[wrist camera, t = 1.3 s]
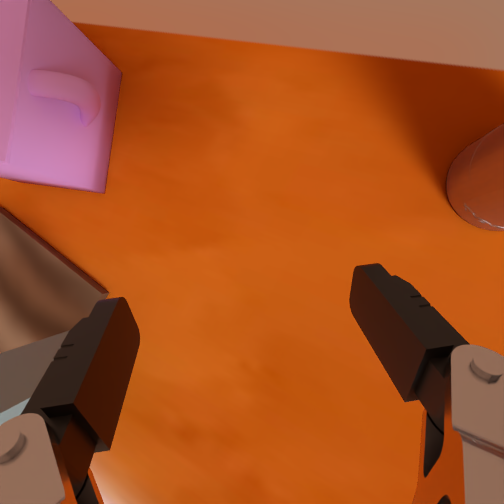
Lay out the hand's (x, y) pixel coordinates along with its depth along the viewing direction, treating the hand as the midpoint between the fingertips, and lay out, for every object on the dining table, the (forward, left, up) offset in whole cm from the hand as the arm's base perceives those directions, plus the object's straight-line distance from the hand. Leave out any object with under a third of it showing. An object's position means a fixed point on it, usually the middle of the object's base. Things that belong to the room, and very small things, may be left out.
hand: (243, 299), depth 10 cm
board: (+22, -26, -21) cm, 40 cm away
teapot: (+1, -34, -21) cm, 40 cm away
